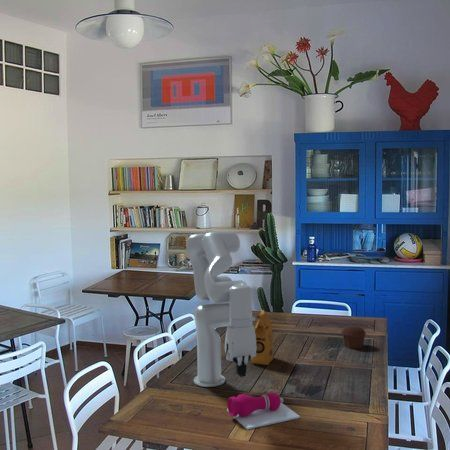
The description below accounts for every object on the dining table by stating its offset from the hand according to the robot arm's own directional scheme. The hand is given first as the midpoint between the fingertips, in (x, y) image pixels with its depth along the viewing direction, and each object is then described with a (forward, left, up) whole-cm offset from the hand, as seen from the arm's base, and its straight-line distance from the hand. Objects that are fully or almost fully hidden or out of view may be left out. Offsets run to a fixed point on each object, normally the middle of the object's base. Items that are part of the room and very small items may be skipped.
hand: (241, 375), depth 177 cm
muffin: (-48, +84, -15) cm, 98 cm away
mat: (0, +8, -15) cm, 17 cm away
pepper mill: (-1, -4, -11) cm, 11 cm away
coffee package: (-49, +34, -15) cm, 62 cm away
